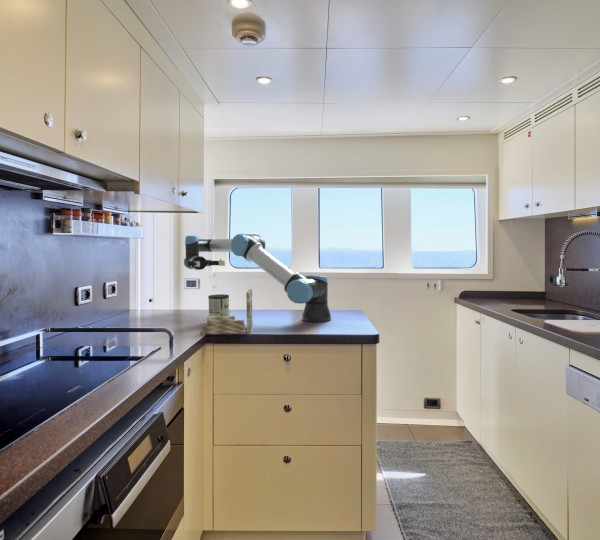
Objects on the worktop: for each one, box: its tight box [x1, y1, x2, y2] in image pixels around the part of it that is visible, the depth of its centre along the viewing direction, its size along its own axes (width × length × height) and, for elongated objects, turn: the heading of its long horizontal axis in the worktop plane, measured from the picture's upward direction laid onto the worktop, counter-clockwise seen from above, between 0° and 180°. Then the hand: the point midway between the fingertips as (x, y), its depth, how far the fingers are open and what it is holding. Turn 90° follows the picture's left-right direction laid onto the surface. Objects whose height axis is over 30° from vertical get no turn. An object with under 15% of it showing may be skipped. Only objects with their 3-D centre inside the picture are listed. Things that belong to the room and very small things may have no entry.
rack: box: [199, 288, 254, 334], centre depth 190 cm, size 22×16×18 cm
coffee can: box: [207, 294, 230, 316], centre depth 209 cm, size 10×10×14 cm
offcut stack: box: [200, 315, 246, 331], centre depth 183 cm, size 19×2×6 cm, turn 93°
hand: (211, 263), depth 215 cm, fingers open, 13 cm apart
